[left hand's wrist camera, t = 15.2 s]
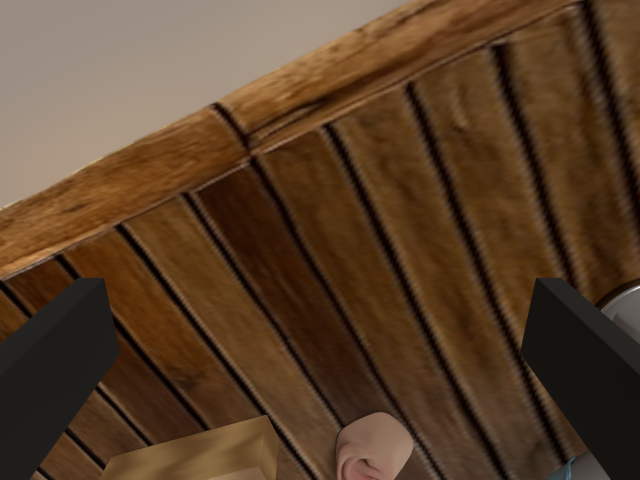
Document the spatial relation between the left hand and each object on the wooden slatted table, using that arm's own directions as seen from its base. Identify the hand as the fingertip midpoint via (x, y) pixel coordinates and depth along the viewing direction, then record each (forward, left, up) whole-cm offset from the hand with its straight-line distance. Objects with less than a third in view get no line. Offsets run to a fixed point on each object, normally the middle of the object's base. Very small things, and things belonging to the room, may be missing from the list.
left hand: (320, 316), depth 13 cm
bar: (-27, +36, -32) cm, 56 cm away
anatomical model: (-40, +15, -32) cm, 53 cm away
